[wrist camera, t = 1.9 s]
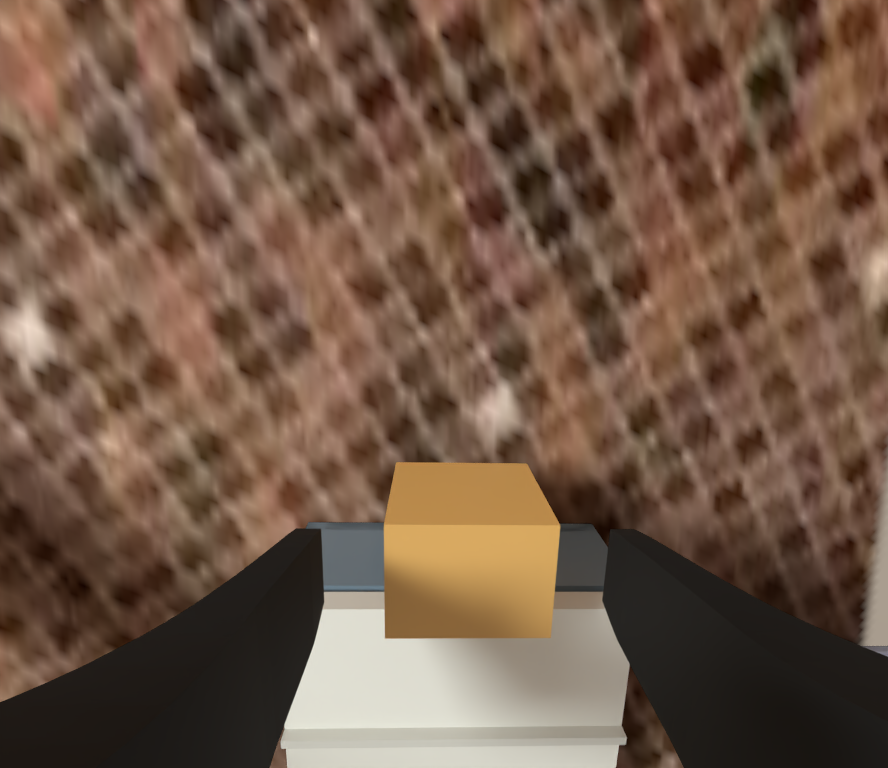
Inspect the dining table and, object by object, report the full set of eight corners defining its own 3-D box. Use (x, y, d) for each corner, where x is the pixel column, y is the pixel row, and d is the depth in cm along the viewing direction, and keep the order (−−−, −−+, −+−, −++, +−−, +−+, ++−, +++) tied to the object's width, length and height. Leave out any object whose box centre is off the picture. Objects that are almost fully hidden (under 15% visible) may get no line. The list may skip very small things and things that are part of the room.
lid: (642, 464, 14) (715, 526, 10) (587, 898, 18) (626, 1050, 14) (276, 461, 13) (220, 523, 10) (304, 904, 17) (272, 1063, 14)
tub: (591, 523, 19) (633, 585, 15) (565, 780, 22) (594, 888, 18) (308, 522, 18) (275, 585, 14) (321, 784, 21) (296, 894, 17)
